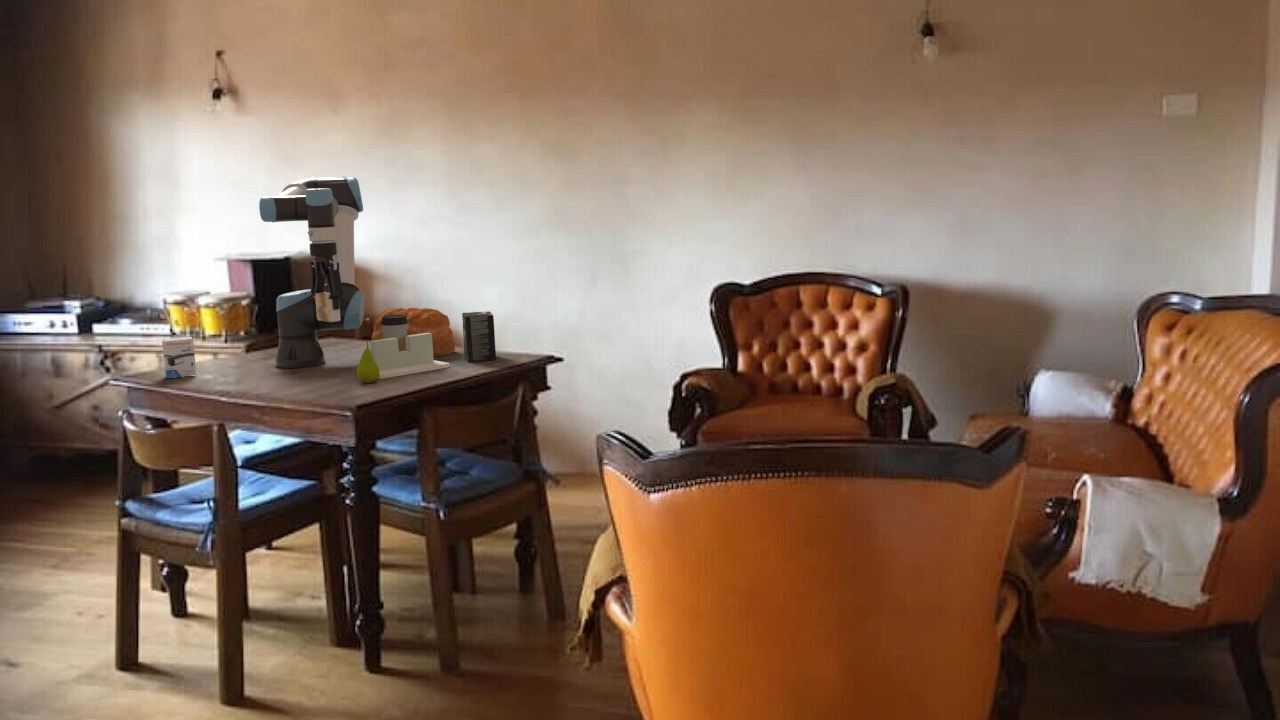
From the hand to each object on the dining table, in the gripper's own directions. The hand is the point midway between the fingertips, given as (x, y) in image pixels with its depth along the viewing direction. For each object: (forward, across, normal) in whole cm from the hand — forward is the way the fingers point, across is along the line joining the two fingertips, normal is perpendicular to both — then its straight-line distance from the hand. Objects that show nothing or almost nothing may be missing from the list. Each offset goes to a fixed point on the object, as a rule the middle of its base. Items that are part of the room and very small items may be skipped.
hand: (328, 319), depth 324 cm
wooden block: (0, 0, 0) cm, 0 cm away
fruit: (+18, +16, +3) cm, 24 cm away
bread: (+18, -18, +38) cm, 46 cm away
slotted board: (+17, +7, +20) cm, 27 cm away
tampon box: (+17, +8, +47) cm, 51 cm away
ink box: (+18, -39, -30) cm, 52 cm away
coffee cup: (+17, -5, +24) cm, 31 cm away
